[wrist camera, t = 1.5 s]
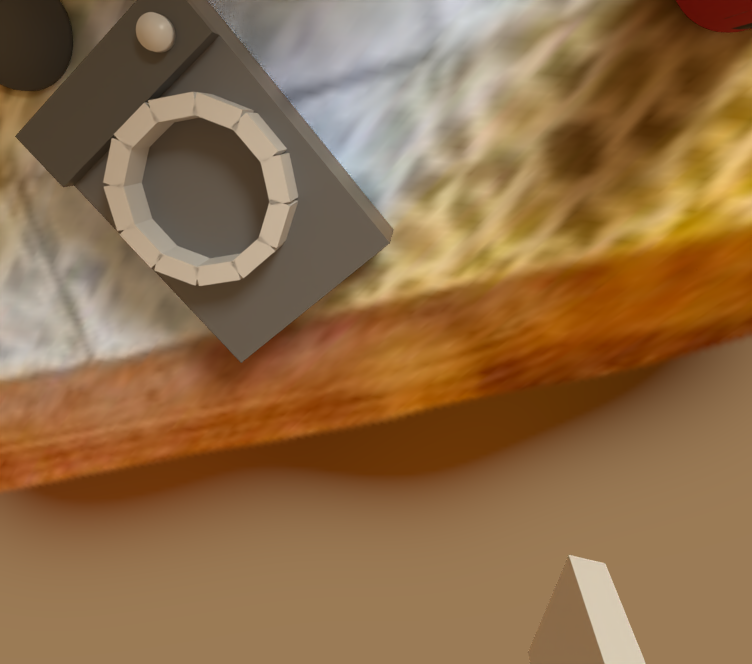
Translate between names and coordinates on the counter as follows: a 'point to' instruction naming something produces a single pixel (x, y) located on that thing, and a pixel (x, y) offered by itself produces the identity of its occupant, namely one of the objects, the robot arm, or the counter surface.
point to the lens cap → (33, 43)
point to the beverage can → (719, 14)
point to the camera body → (206, 171)
